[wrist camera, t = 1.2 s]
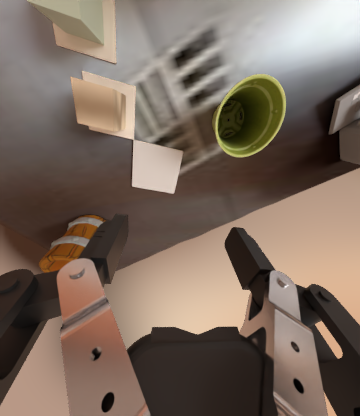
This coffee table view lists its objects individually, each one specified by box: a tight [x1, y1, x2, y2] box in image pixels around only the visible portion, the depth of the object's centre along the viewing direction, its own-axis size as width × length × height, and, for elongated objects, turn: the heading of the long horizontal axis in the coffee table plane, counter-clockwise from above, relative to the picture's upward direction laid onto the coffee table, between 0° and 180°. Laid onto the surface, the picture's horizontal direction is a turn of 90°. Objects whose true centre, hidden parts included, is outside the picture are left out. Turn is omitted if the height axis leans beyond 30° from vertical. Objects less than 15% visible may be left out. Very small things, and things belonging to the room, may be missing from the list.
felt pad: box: [132, 140, 183, 194], centre depth 30 cm, size 10×10×1 cm
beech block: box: [70, 77, 126, 132], centre depth 21 cm, size 5×5×6 cm
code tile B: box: [52, 0, 116, 64], centre depth 18 cm, size 8×8×1 cm
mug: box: [39, 215, 106, 273], centre depth 33 cm, size 11×16×15 cm, turn 163°
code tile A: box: [82, 71, 136, 140], centre depth 24 cm, size 8×8×1 cm
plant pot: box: [212, 74, 286, 157], centre depth 22 cm, size 9×9×9 cm
